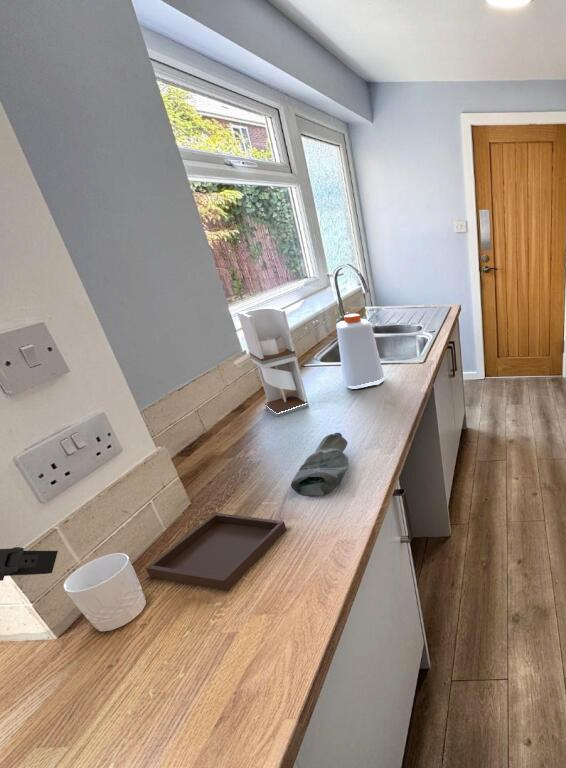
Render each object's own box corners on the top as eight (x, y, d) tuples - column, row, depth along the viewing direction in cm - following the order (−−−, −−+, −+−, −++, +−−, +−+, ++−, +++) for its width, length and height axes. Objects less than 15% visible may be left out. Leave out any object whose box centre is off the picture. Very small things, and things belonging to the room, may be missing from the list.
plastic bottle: (347, 392, 156) (333, 322, 145) (342, 380, 169) (328, 314, 158) (387, 384, 163) (376, 316, 152) (379, 373, 175) (368, 309, 164)
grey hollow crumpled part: (341, 498, 97) (365, 442, 120) (333, 474, 94) (358, 421, 117) (286, 506, 97) (320, 449, 119) (276, 483, 94) (313, 428, 116)
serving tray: (150, 577, 77) (145, 567, 76) (219, 521, 91) (215, 512, 90) (227, 590, 74) (223, 581, 73) (286, 530, 88) (284, 521, 87)
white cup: (107, 601, 73) (82, 559, 69) (159, 589, 75) (138, 548, 71) (79, 641, 66) (49, 598, 62) (137, 627, 68) (112, 583, 64)
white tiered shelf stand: (265, 407, 146) (237, 312, 132) (296, 398, 153) (272, 306, 140) (277, 416, 139) (248, 316, 125) (308, 406, 146) (284, 310, 132)
